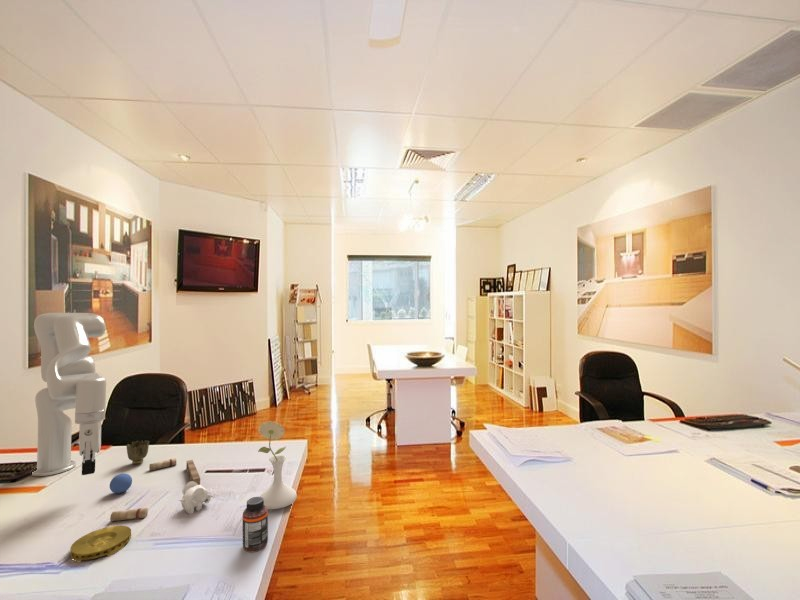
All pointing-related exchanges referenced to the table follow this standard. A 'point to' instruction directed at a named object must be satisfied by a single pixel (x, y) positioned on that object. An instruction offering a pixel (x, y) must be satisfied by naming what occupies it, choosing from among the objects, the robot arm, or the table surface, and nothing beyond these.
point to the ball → (120, 483)
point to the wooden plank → (192, 472)
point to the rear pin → (162, 464)
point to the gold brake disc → (100, 543)
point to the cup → (137, 451)
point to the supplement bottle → (255, 525)
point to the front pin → (129, 514)
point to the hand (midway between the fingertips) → (88, 473)
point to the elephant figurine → (194, 496)
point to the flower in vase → (276, 470)
